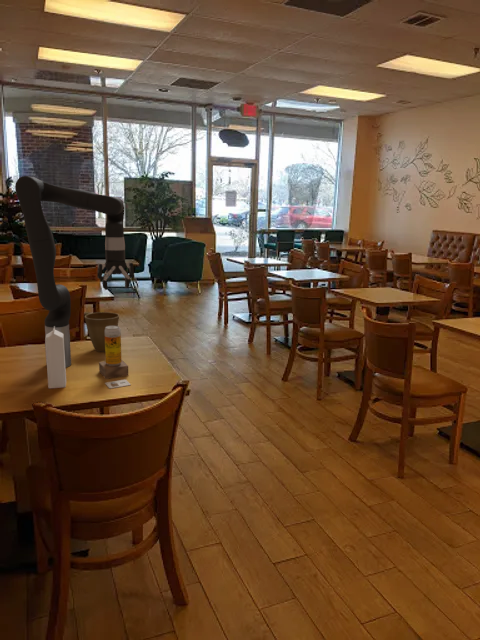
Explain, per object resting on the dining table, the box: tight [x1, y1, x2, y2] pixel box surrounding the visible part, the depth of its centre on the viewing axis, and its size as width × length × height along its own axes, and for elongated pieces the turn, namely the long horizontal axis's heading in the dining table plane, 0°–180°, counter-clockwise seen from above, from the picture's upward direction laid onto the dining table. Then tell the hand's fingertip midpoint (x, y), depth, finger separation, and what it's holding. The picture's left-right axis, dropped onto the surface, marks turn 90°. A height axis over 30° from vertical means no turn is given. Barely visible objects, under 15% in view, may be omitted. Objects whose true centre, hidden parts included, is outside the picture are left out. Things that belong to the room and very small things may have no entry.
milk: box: [44, 326, 67, 389], centre depth 184 cm, size 6×6×22 cm
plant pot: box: [84, 311, 120, 353], centre depth 228 cm, size 15×15×16 cm
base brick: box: [98, 359, 129, 380], centre depth 200 cm, size 9×9×4 cm
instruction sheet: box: [104, 378, 131, 390], centre depth 189 cm, size 8×6×1 cm
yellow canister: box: [104, 325, 123, 366], centre depth 198 cm, size 6×6×15 cm
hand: (116, 288), depth 203 cm, fingers open, 8 cm apart
